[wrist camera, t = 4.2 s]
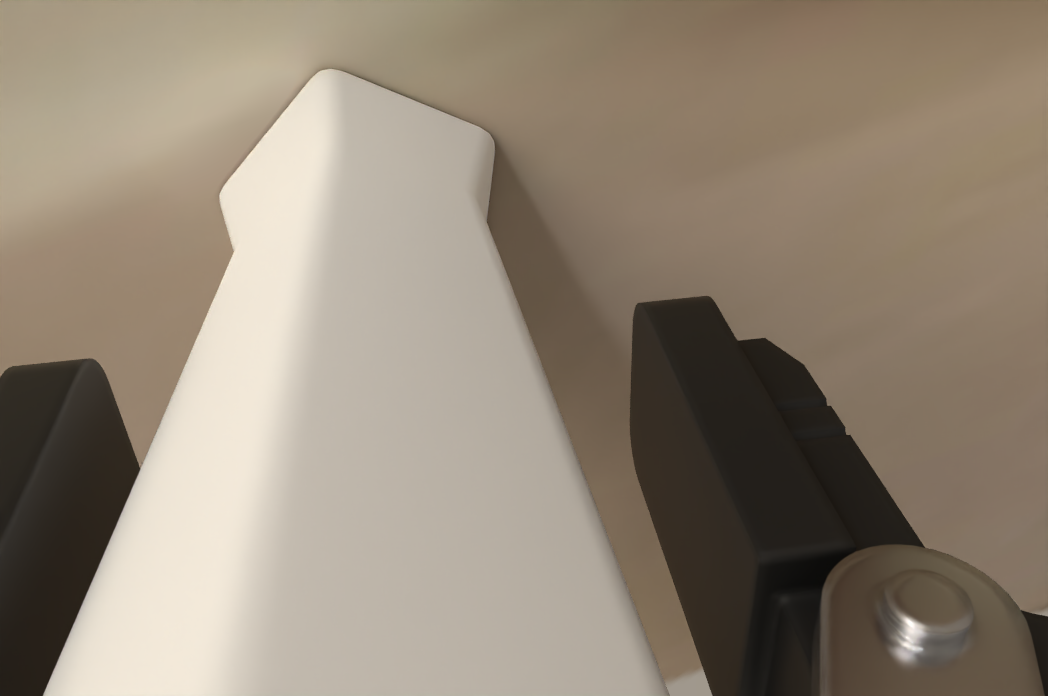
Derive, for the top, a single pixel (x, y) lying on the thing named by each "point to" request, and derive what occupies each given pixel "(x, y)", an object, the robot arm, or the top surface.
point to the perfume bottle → (360, 450)
